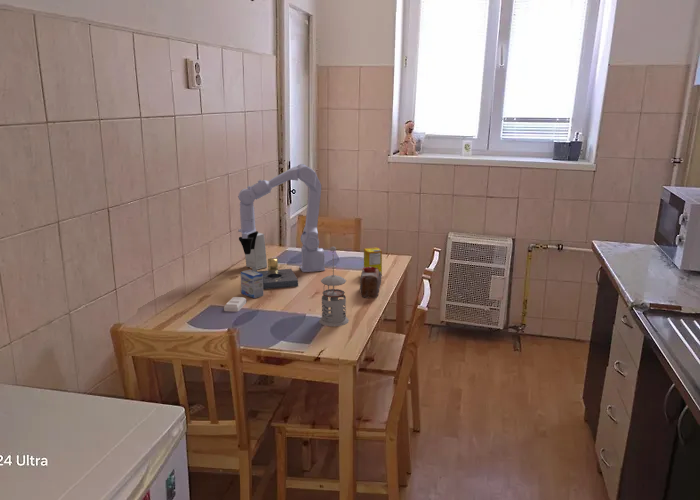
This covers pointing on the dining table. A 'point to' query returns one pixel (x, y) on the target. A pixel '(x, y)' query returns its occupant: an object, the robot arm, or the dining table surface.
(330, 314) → the french press
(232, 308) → the soap bar
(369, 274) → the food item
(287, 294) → the dining table surface
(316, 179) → the robot arm
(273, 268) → the cylinder
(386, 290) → the dining table surface
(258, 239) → the skincare box
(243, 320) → the dining table surface
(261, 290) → the medicine box
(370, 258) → the supplement box
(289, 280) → the jig
